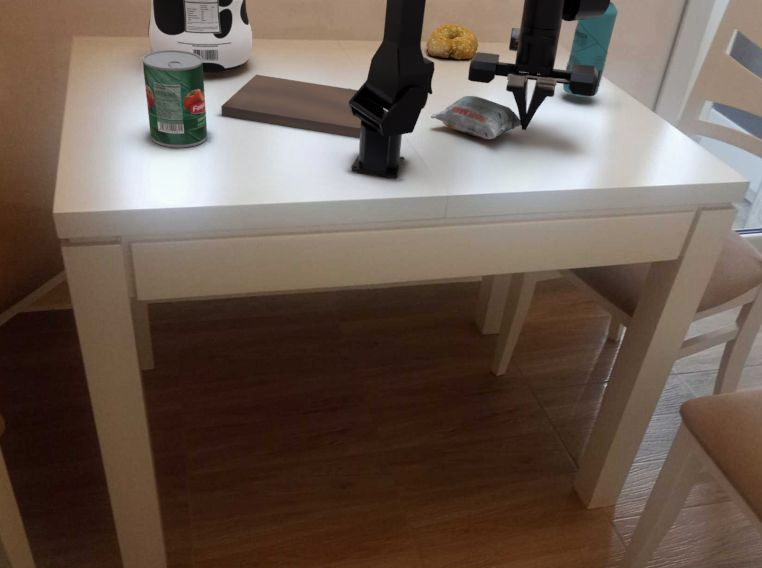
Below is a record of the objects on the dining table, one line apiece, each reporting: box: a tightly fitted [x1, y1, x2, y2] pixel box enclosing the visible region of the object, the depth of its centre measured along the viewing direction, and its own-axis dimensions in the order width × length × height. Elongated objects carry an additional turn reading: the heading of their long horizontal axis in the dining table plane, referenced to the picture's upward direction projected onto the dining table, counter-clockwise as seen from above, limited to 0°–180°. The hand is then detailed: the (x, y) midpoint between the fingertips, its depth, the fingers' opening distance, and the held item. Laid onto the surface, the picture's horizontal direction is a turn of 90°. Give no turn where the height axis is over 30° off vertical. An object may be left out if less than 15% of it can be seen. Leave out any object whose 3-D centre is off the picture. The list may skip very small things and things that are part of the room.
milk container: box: [147, 0, 253, 74], centre depth 130 cm, size 17×17×18 cm
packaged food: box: [430, 95, 521, 140], centre depth 120 cm, size 9×12×5 cm
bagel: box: [426, 23, 479, 60], centre depth 153 cm, size 10×11×5 cm
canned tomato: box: [141, 50, 208, 149], centre depth 107 cm, size 8×8×11 cm
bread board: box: [220, 74, 361, 139], centre depth 123 cm, size 16×22×2 cm
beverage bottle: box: [562, 1, 619, 98], centre depth 133 cm, size 6×7×20 cm
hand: (523, 129), depth 120 cm, fingers closed
